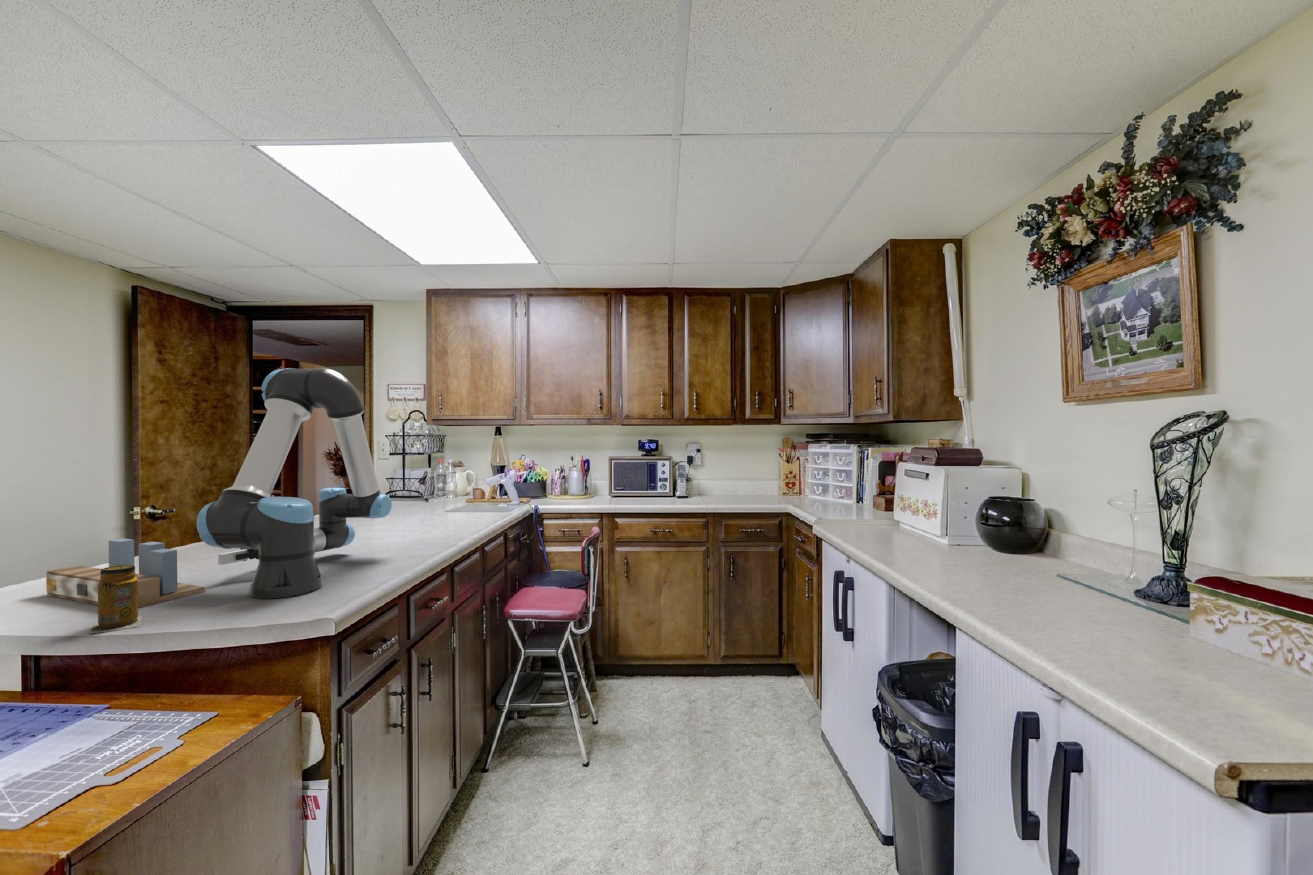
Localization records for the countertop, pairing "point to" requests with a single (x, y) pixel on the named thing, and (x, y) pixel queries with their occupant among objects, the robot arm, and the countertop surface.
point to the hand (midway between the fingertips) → (220, 559)
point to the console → (85, 580)
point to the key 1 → (121, 552)
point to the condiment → (117, 599)
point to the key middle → (147, 555)
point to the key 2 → (164, 569)
